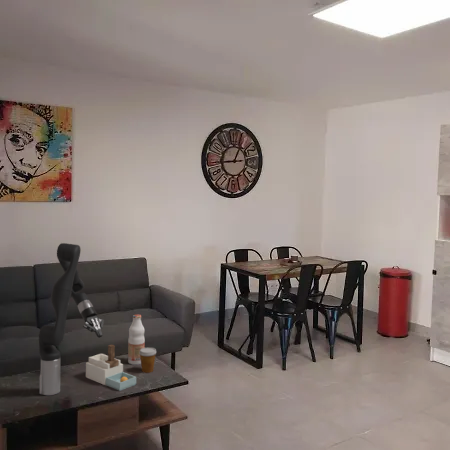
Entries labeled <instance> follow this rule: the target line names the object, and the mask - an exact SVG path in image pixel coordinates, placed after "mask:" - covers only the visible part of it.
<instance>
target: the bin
mask: <svg viewBox="0 0 450 450" xmlns="http://www.w3.org/2000/svg"><path fill="white" fill-rule="evenodd" d="M122 377H127V378H128V380H126V381H123V382H120V379H121V378H122ZM136 385H137V376H135V375H132V374H130V373H127V372H124V371H123V372H120V373H117V374H115V375H112V376H109V377H106V385H105V386H107V387H110V388H112V389H114V390H117V391H123V390H125V389H128V388H131V387H134V386H136Z"/></svg>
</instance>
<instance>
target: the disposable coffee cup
mask: <svg viewBox="0 0 450 450" xmlns="http://www.w3.org/2000/svg"><path fill="white" fill-rule="evenodd" d="M139 353H140V358H141V364H140V366H141V372H143V373H146V374H149V373H153V372H154V369H155V362H156V361H155V359H156V355H157V349H156V348H155V347H145V348H142V349H141V350H140V352H139Z"/></svg>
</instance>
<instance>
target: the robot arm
mask: <svg viewBox="0 0 450 450" xmlns="http://www.w3.org/2000/svg"><path fill="white" fill-rule="evenodd" d="M81 251H82V250H81V246H80V245H79V244H72V243H65V242H63V243H62V242H61V243H60V244H59V245H58V246H57V249H56V258H57V260H58V262H59V264H60V266H61V268H62V269H63V271H64V273H63V274H62V275H61V276H60V278H58V280H56V282H55V283H54V285H53V287H52V290H51V291H52V292H51V294H50V295H51V296H50V301H51V304H52V308H53V310H54V313H55V324H54V325H43V326H42V327H41V328H39V329H40V330H39V334H38V350H39V352H38V353H39V355H40V374H39V395H44V396H53V395H56V394H59V393H60V392H61V351H60V350H59V349H57V348H56V347H58V346H61V344H62V343H63V341H64V339H65V338H64V337H65V333H66V323H67V316H68V311H69V306H70V301H71V298H72V300H73V301H74V302H75V304H76V306H77V309H78V311H79V314H80V315H81V317H82V319H83V321H84V324H83V326H82V327H83V328H84V329H86V330H88V331H89V332H91V333H93V332H94V333H95V335H96V337H97V338H102V337H103V334H104V333H103V332H102V329H103V327H104V323H105V319H103V318H102V319H100V317H99V316H98V313H97V311H96V309H95V307H94V305H93V303H92V302H91V300H90V299H89V297H88V295H87V294H86V293H85V292H80V291H82V290H83V289H85V283H84V281H83V279H81V277H80V272H79V269H78V265H79V264H78V263H79V260H80V256H81ZM54 346H55V347H54Z"/></svg>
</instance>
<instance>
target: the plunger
mask: <svg viewBox="0 0 450 450" xmlns="http://www.w3.org/2000/svg"><path fill="white" fill-rule="evenodd" d="M115 348H116V346H115V345H114V344H109V345H107V356H108V360H107V361H105V362H106V363H108V364H110V368H113V367H116V366H118V360H119V359H118V358H115V356H116V355H115V354H116V353H115ZM117 359H118V360H117Z"/></svg>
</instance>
